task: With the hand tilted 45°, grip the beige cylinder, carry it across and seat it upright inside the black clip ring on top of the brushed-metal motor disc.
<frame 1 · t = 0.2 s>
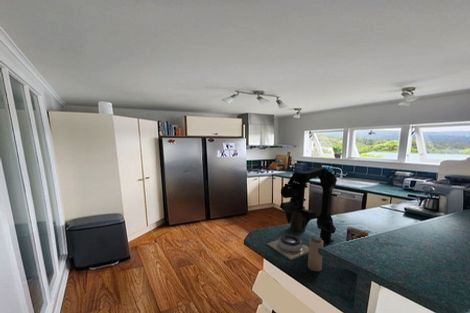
hand: (295, 226, 107), 14 cm above the counter, tool pointing down, fingers open, 9 cm apart
motor mount: (289, 248, 113), on the counter
beige cylinder: (314, 267, 96), on the counter
candy box: (355, 260, 104), on the counter
pillar candle: (297, 229, 138), on the counter
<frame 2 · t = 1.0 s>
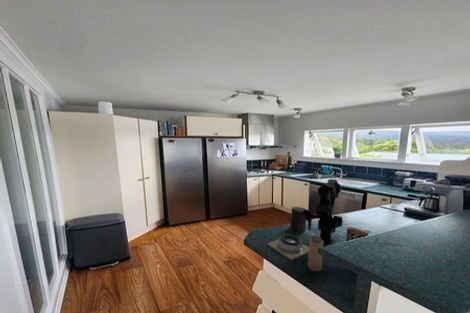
hand: (319, 233, 102), 13 cm above the counter, tool tilted 45°, fingers open, 9 cm apart
nothing on the counter moved.
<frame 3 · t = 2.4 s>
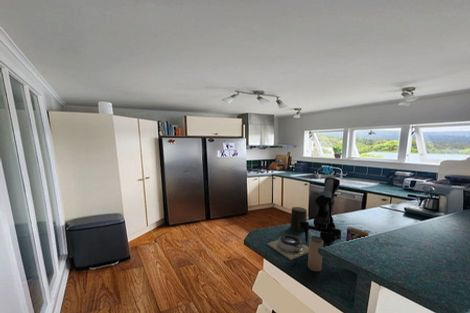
hand: (316, 246, 97), 9 cm above the counter, tool tilted 45°, fingers open, 9 cm apart
nothing on the counter moved.
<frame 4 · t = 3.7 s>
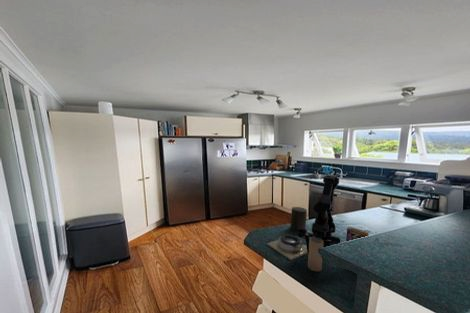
hand: (314, 255, 94), 7 cm above the counter, tool tilted 45°, fingers closed on beige cylinder, 6 cm apart
beige cylinder: (314, 267, 96), on the counter, touching gripper
everything else where it was.
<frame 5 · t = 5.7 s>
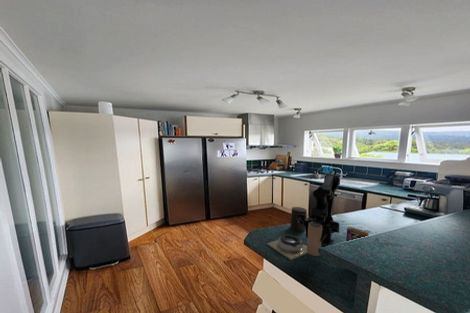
hand: (313, 239, 95), 13 cm above the counter, tool tilted 45°, fingers closed on beige cylinder, 6 cm apart
beige cylinder: (313, 252, 96), point 7 cm above the counter, touching gripper
everything else where it was.
when the fingers open (11 cm above the counter, at t = 7.9 s): beige cylinder stays where it is, resting on motor mount.
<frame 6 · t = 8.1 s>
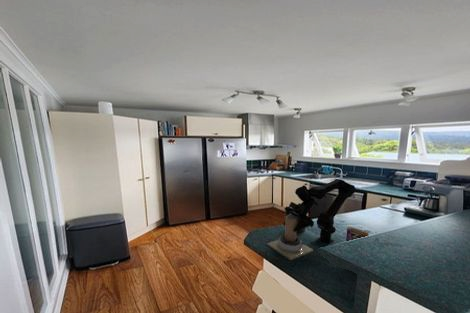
hand: (288, 228, 111), 11 cm above the counter, tool tilted 45°, fingers open, 8 cm apart
beige cylinder: (290, 240, 113), point 4 cm above the counter, touching motor mount
everything else where it was.
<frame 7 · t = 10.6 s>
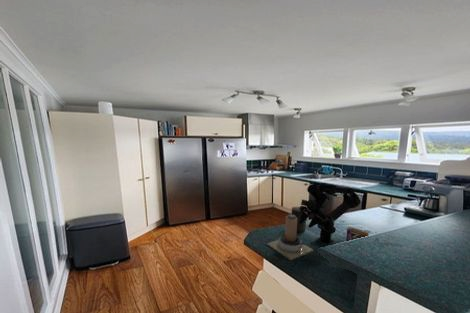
hand: (304, 225, 115), 12 cm above the counter, tool tilted 40°, fingers open, 9 cm apart
nothing on the counter moved.
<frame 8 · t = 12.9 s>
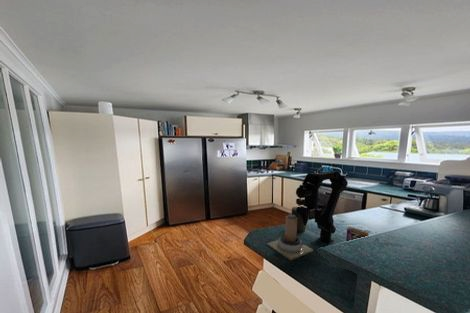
hand: (310, 223, 114), 13 cm above the counter, tool pointing down, fingers open, 9 cm apart
nothing on the counter moved.
at the end: beige cylinder 0.0 cm off-centre on the motor mount, point 4.0 cm above the motor mount's base; beige cylinder tilted 0°; the gripper is holding nothing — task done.
